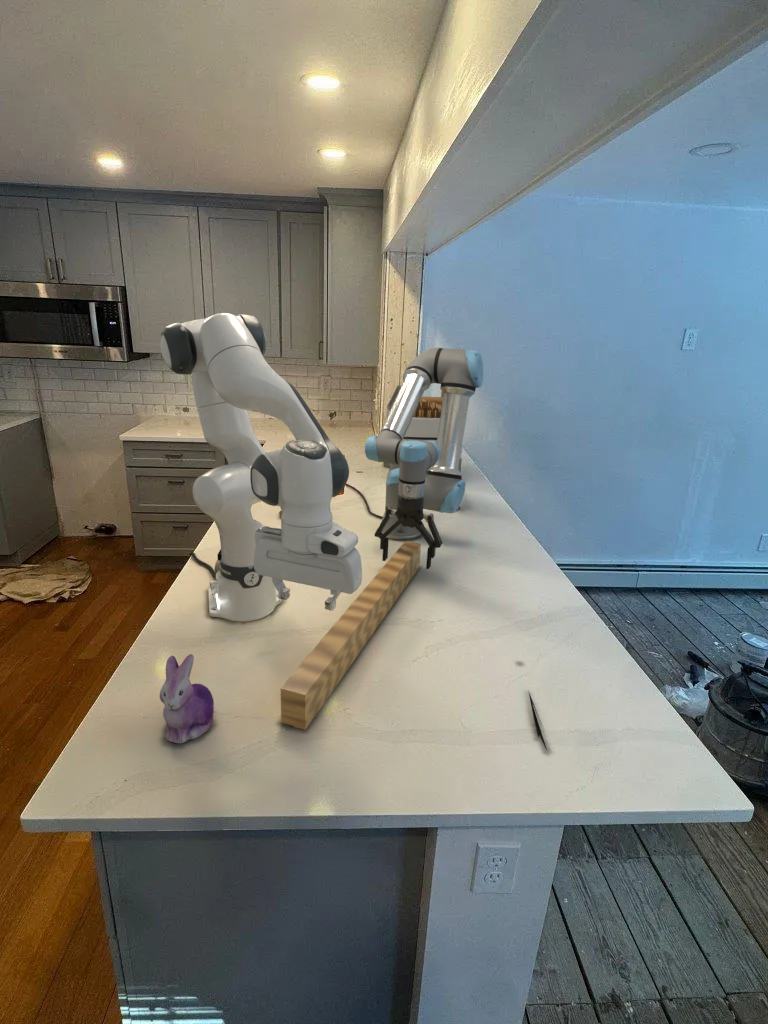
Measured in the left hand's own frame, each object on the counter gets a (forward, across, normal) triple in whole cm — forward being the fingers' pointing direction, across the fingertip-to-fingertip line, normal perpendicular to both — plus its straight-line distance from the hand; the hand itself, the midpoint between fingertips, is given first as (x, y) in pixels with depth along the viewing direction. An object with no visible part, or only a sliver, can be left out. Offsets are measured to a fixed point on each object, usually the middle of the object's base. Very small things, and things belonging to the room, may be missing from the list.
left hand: (306, 603), depth 104 cm
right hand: (+20, 0, +65) cm, 68 cm away
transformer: (+23, -27, +174) cm, 177 cm away
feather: (+23, +42, +18) cm, 51 cm away
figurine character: (+23, -48, +46) cm, 70 cm away
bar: (+23, 0, +33) cm, 40 cm away
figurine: (+23, -17, -14) cm, 32 cm away
